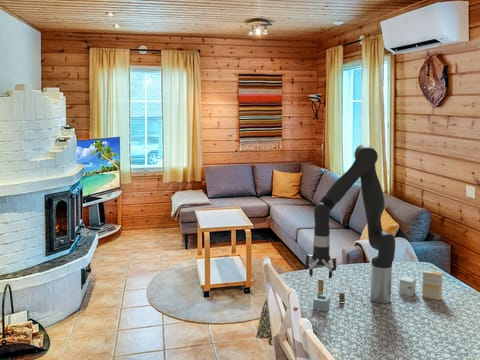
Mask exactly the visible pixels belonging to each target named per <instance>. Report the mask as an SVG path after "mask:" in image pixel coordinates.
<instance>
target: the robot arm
mask: <svg viewBox="0 0 480 360" xmlns="http://www.w3.org/2000/svg"><path fill="white" fill-rule="evenodd" d="M378 159H379V155H378V152H377V150H376V149H375V148H374V147H373V146H371V145H369V144H366V143H362V144H360V145H358V146H357V147H356V149H355V151H354V161H353V163H352V165H351V166H350V167H349V168H348V170H347V171H346V172H345V173H343V175H341V176H339V178H338V179H337V180H336V181H335V182H334V183H333V184H331V187H330V188H329V189H328V191H326V193H325V195H324V196H323V197H322V198H320V200H319V201H318V202H317V203H316V206H315V208H314V213H313V216H314V217H313V218H314V219H313V220H314V231H313V232H314V234H313V242H312V244H313V245H312V246H313V250H312V251H313V253H312V255H311V254H309V253H307V255H306V257H305V268H308V269H309V274H308V275H309V276H310V277H313V276H314V267H315V266H316V265H317V266H322V267H326V269H328V280H331V279H332V277H333V272H335V271H336V270H337V257H336V256H333V257H332V256H331V255H330V250H331V248H330V247H331V246H330V245H331V243H330V242H331V237H330V232H331V229H330V228H331V227H330V213H331V212H332V210H333V209H334V208H335V206H336V205H337V204H338V203H339V202H341V200H342V199H343V198H344V196H345V195H346V194H347V193H348V192H349V190H350V189H351V188H352V187H353V185H354V184H355V183H356V182H357V181H358V180H360V189H361V196H362V197H361V198H362V202H363V206H364V210H365V217H366V222H367V223H366V224H367V235H368V236H367V237H368V243H369V245H370V247H371V248H373V250H377V251H378V254H377V256H374V257H372V259H371V274H370V275H371V276H370V278H371V279H370V300H371V301H372V302H375V303H376V304H377V303H378V304H388V303H391V300H392V294H391V293H392V279H393V277H392V276H393V275H392V274H393V272H392V271H393V262H394V261H395V260H394V259H395V253H396V239H395V235H393V234H391V233H390V232H386V231H384V229H383V226H382V221H381V220H382V216H383V212H384V210H385V204H386V203H385V198H384V197H385V196H384V193H383V188H382V185H381V182H380V180H379V177H378V174H377V169H376V163H377V161H378ZM311 259H312V260H313V262H312V263H311V264H310V261H311ZM330 261H331V263H332V265H331V263H330Z"/></svg>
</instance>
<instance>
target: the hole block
mask: <svg viewBox="0 0 480 360" xmlns="http://www.w3.org/2000/svg"><path fill="white" fill-rule="evenodd" d="M330 298H331V296H330V295H326V294H323V295H320V294H318V293H316V294H314V297H313V299H312V310H313V309H319V310H325V311H329V309H330V307H329V305H331V304H330V303H331V301H330V300H331V299H330ZM328 308H329V309H328Z"/></svg>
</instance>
